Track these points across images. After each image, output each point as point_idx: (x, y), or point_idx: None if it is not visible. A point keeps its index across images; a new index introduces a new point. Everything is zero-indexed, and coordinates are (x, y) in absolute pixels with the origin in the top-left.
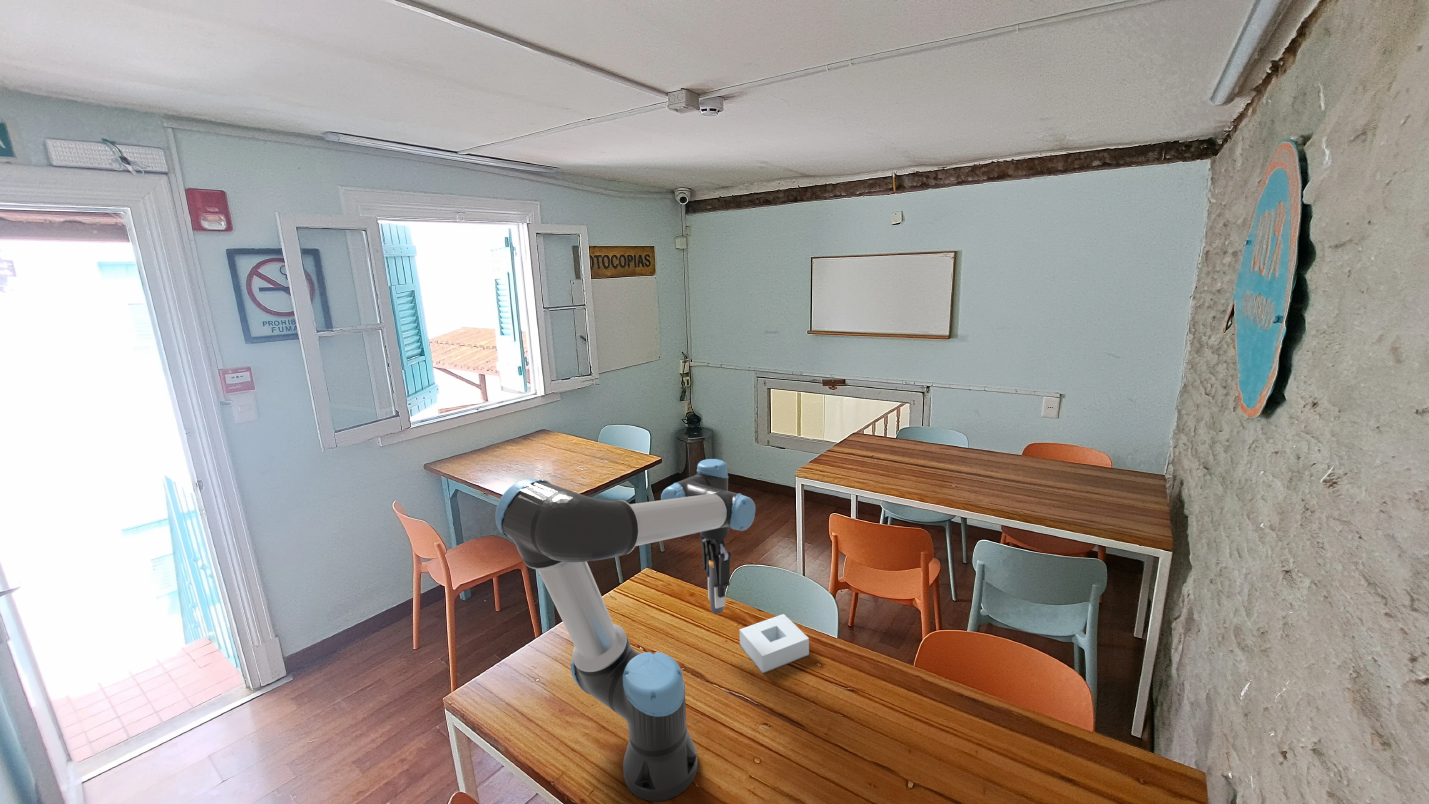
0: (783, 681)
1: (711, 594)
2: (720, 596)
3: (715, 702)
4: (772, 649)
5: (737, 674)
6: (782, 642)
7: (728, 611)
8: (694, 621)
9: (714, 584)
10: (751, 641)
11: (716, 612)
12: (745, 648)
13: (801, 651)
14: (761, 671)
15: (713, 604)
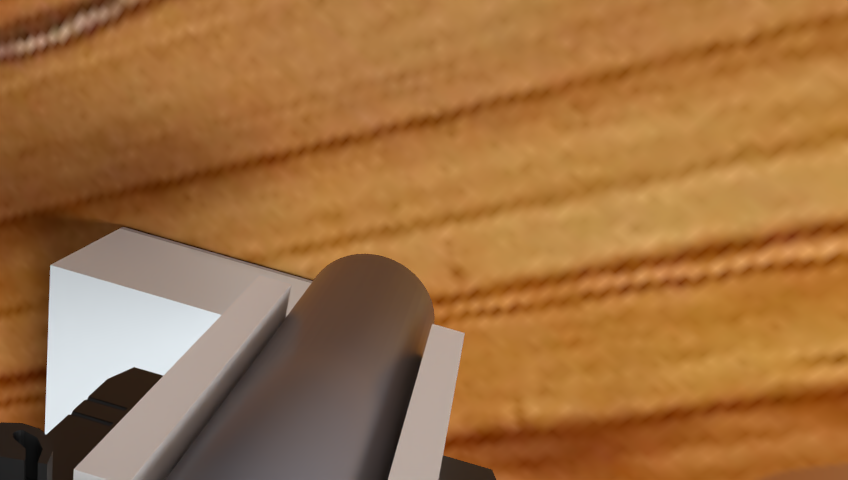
0: (35, 259)
1: (305, 359)
2: (109, 385)
3: None
4: (67, 345)
5: (198, 127)
6: None
7: (660, 465)
8: (767, 264)
9: (42, 478)
10: (192, 315)
11: (319, 274)
12: (292, 287)
13: None
14: (133, 230)
15: (318, 298)
